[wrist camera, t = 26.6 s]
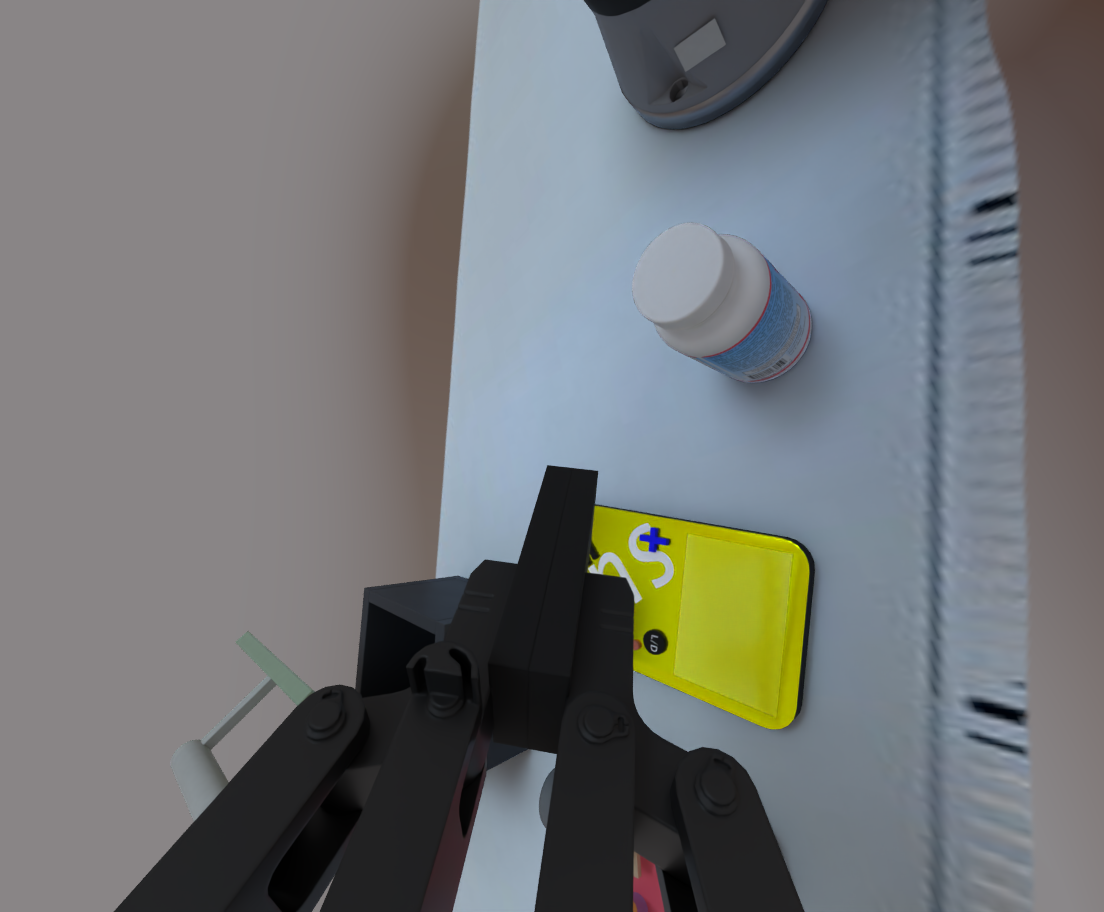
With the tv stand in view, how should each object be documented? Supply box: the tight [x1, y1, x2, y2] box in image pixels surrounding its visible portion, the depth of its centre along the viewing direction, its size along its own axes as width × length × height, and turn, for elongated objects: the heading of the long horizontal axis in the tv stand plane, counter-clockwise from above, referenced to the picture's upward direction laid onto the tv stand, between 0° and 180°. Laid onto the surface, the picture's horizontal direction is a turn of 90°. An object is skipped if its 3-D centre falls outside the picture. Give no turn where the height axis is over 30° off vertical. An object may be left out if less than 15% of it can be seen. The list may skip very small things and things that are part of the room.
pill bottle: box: [632, 223, 812, 383], centre depth 26 cm, size 6×6×11 cm
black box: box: [355, 576, 527, 771], centre depth 41 cm, size 12×12×10 cm
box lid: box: [171, 632, 314, 821], centre depth 32 cm, size 13×12×8 cm
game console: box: [587, 504, 815, 729], centre depth 33 cm, size 18×11×2 cm, turn 83°
